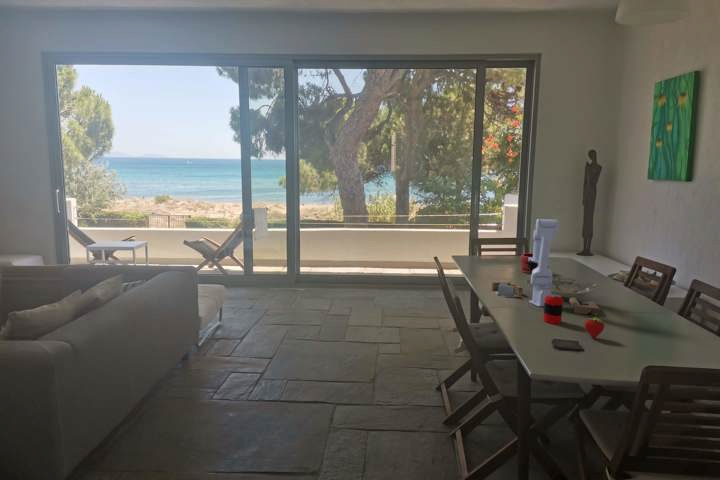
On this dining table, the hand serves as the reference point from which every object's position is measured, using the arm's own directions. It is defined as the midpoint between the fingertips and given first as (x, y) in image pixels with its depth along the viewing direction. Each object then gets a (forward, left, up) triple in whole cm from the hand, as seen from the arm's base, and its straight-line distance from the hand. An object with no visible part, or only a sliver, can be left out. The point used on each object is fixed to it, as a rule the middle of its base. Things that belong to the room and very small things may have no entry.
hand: (536, 276), depth 266 cm
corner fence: (+3, +15, -10) cm, 18 cm away
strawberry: (-68, +13, -10) cm, 70 cm away
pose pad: (+1, +17, -10) cm, 20 cm away
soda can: (-46, +18, -10) cm, 50 cm away
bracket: (+1, +17, -10) cm, 19 cm away
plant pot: (+52, -26, -10) cm, 59 cm away
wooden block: (-38, -5, -8) cm, 40 cm away
